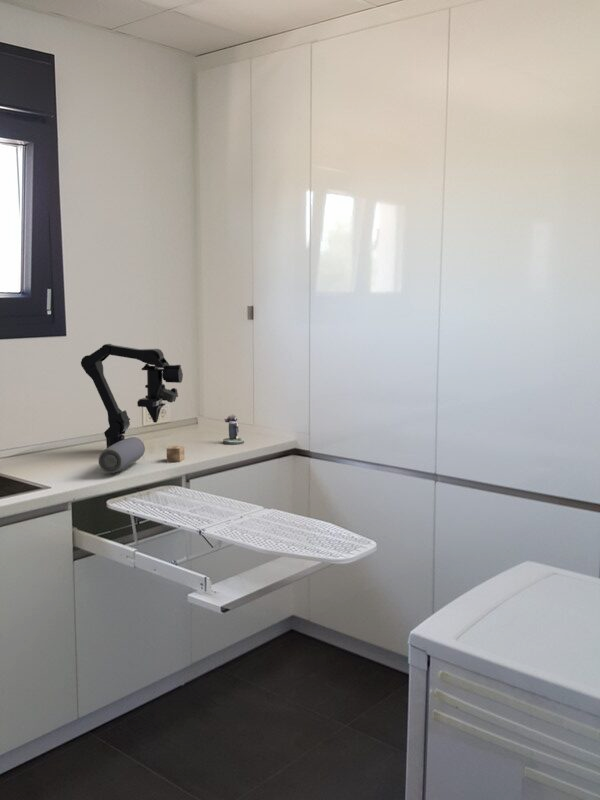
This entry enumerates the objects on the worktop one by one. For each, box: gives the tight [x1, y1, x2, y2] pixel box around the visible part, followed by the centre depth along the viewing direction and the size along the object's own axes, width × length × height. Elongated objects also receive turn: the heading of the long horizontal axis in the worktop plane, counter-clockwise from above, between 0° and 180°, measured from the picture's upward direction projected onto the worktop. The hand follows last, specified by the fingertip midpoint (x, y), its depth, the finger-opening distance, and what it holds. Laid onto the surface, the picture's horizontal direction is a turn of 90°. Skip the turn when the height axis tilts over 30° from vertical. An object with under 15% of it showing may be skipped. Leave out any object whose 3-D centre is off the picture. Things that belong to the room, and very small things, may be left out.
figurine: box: [222, 414, 245, 446], centre depth 325 cm, size 8×8×12 cm
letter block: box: [165, 445, 186, 463], centre depth 293 cm, size 5×5×5 cm
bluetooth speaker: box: [98, 436, 146, 474], centre depth 279 cm, size 23×9×10 cm, turn 171°
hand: (155, 422), depth 307 cm, fingers closed
